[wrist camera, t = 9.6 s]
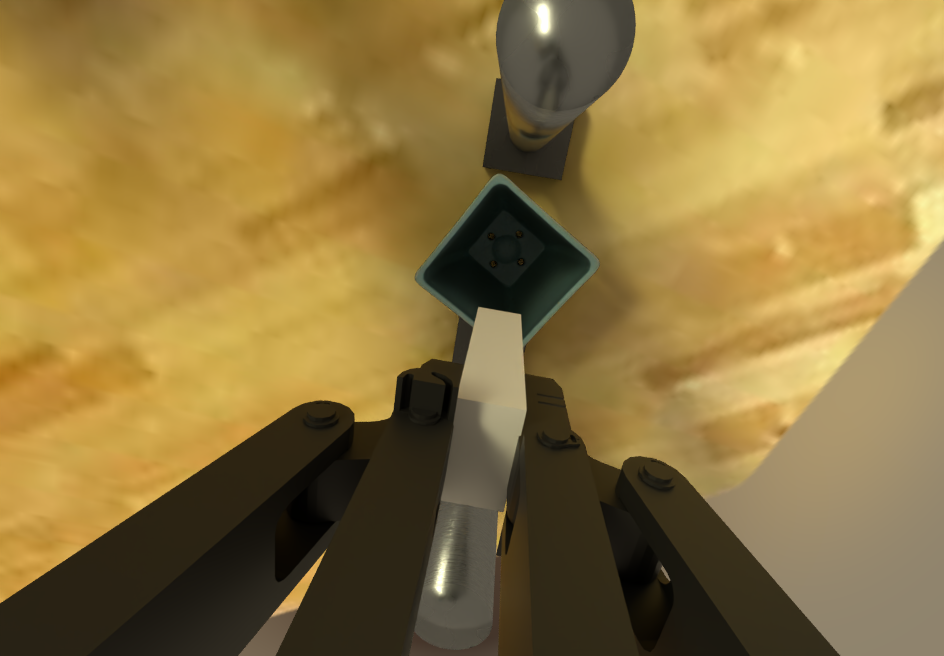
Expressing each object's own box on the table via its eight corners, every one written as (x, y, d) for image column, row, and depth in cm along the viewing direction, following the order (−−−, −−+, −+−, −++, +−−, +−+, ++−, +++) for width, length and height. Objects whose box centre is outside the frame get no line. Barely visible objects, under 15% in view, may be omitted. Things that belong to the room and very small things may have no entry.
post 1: (461, 310, 39) (373, 537, 15) (529, 322, 39) (551, 572, 15) (451, 371, 42) (360, 660, 17) (516, 383, 41) (517, 691, 17)
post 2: (497, 82, 33) (448, -162, 9) (577, 95, 33) (752, -118, 9) (483, 167, 35) (414, 157, 11) (559, 179, 35) (660, 199, 11)
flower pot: (584, 242, 37) (604, 263, 28) (512, 319, 39) (511, 360, 31) (502, 169, 35) (498, 169, 27) (434, 254, 38) (410, 278, 30)
